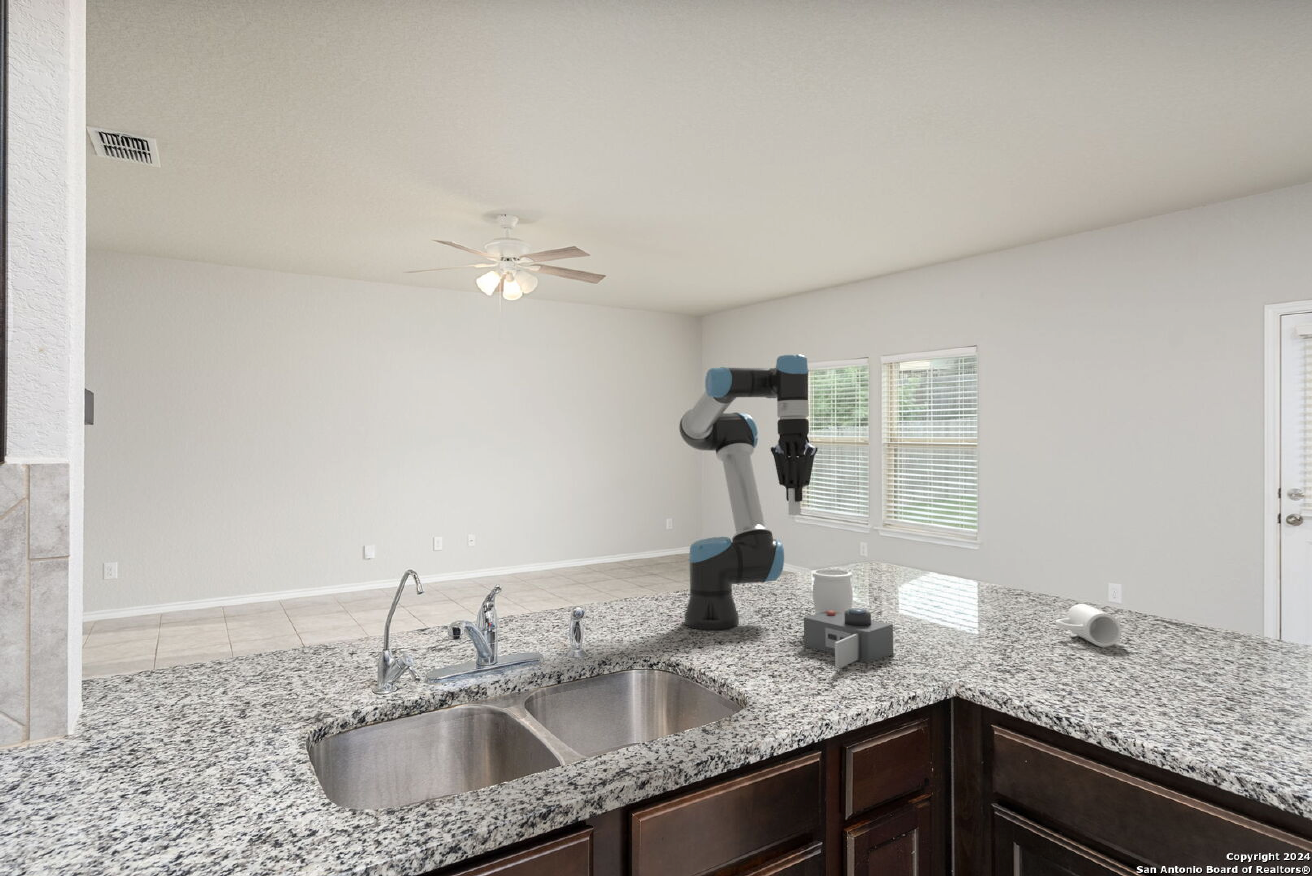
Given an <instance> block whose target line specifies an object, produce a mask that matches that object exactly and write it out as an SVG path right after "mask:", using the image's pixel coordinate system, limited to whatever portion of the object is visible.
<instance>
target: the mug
mask: <svg viewBox="0 0 1312 876" xmlns="http://www.w3.org/2000/svg"><path fill="white" fill-rule="evenodd" d="M1055 626H1056V627H1058V628H1060V629H1062V630H1067V631H1068V630H1069V631H1070V632H1071V633H1073V634H1074V635H1076V636H1078V637H1080V638H1081V639H1084V640H1086V641H1087V642H1089V643H1091V644H1093V645H1095V646H1097V647H1102V648H1109V647H1112V646H1113V645H1115V644H1117V643H1118V641H1119V640H1120V639H1121V637H1122V632H1123V631H1122V626H1121V623H1120V622H1119V620H1118V619H1117V618H1116V617H1115V616H1113V615H1112V614H1109V613H1107V612H1106V611H1102V610H1100V609H1099V608H1096V607H1093V606H1091V605H1089V604H1084V603H1080V604H1079V603H1078V604H1076V605H1073V606H1071V608H1069V609H1068V610H1067V611H1066V614H1065V617H1064V618H1059V619H1056V620H1055Z"/></svg>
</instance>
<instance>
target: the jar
mask: <svg viewBox="0 0 1312 876" xmlns="http://www.w3.org/2000/svg"><path fill="white" fill-rule="evenodd" d="M811 574H812V576H813V578H814V579H813V585H812V601H813V606H814V612H815V613H814V614H818V613H822V612H826V611H835V612H837V613H842V614H844V612H845V611H847V610H849V609H852V608H853V602H854V601H853V599H854V597H853V596H854V595H853V593H854V592H853V586H852V582H851V578H852V577H853V573H852V572H851V571H848V570H844V569H843V570H842V569H836V568H835V569H834V568H833V569H831V568H830V569H828V568H827V569H816V570H814V571H812V573H811Z"/></svg>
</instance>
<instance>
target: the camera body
mask: <svg viewBox="0 0 1312 876" xmlns="http://www.w3.org/2000/svg"><path fill="white" fill-rule="evenodd" d="M855 633H858V634H859V659H858V660H856V661H858V662H861V663H865V664H872V663H874V662H877V661H880V660H882V659H884V658H887V657H890V656H893V655H894V624H893V623H889V622H884V621H881V620H875V619H872V613H871V612H870V611H868V610H867V609H865V608H860V607H859V608H857V607H856V608H854V607H852V608H851V609H849V610H847V611H845V612H844V614H842V613H837V612H835V611H826V612H822V613H818V614H816V613H814V614H811V615H807V616H804V617H803V646H804V647H807V648H809V649H813V650H817V651H821V652H825V653H829V654H833V655H835V642H837V641H840V640H842V639H844V638H847V637H849V636H851V635H854V634H855Z"/></svg>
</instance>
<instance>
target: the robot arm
mask: <svg viewBox="0 0 1312 876" xmlns="http://www.w3.org/2000/svg"><path fill="white" fill-rule="evenodd" d="M808 365H809V364H808V358H807V357H806V355H803V354H784V355H780V356H778V357H777V358H776V365H775V367H725V366H723V367H722V366H721V367H711V368H710V369H708V370H707V372H706V375H705V381H704V384H705V385H704V387H705V391H704V392H703V394H702V395H701V397H700V398H699V399H698V401H697V402H696V404H694V405H693V407H692V408H691V409H689V410H687V411H685V413H684V414H683V415H682V417H681V419H680V422H679V427H678V428H679V433H680V436H681V438H682V440H683V441H684V442H685V443H686V444H687V445H688V446H690V447H691V448H693V449H695V450H699V451H708V452H709V451H715V455H716V458H717V459H718V460H719V461H720V462H722V466H723V469H724V475H725V481H726V486H727V492H728V497H729V501H730V507H731V513H732V518H733V524H734V528H735V534H734V535H733V536H732V538H730V537H727V536H715V537H714V536H713V537H708V538H703V539H700V540H696V541H694V542H692V544H691V545H690V547H689V555H688V556H689V557H688V563H689V593H690V594H689V600H688V603H687V606H686V611H685V612H684V616H683V617H684V624H685V626H687V627H690V628H692V629H696V630H697V629H698V630H706V631H715V630H716V631H717V630H719V631H720V630H726V629H727V630H728V629H732V628H735V627H737V626H738V625H739V623H740V614H739V612H738V611H737V608H736V604H735V600H734V598H733V585H739V584H740V585H741V584H753V583H754V584H755V583H756V584H757V583H762V584H765V583H767V582H775V581H777V580H778V579H779V578H780V577H781V575H782V573H783V570H784V565H785V550H784V549H785V548H784V545H783V543H782V542H781V540H779V539H778V538H776V539H775V538H774V536H773V532H772V531H771V530H770V529H768V528H767V527H766V525H765V524H766V523H765V520H764V515H763V511H762V505H761V500H760V495H759V490H758V486H757V483H756V482H757V481H756V478H755V472H754V467H753V463H752V458H751V457H752V454H754V451H755V448H756V447H757V445H758V441H759V438H758V429H757V425H756V422H755V420H754V418H753V417H752V416H751V415H749V414H747V413H741V412H728V413H727V412H725V411H726V410H727V408H729V407H730V405H731V404H732V403H733V401H735V400H736V398H766V399H776V400H777V401H776V403H777V404H776V405H777V411H776V412H777V418H779V419H778V421H777V434H778V435H779V436H778V437H779V439H778V441H777V444H776V445H775V446H771V447H770V452H771V453H772V455H773V460H774V465H775V469H776V474H777V479H778V483H779V485H780V486H784V487H785V489H786V491H785V492H786V493H785V494H786V495H785V496H786V497H785V498H786V501H787V502H788V516H800V515H801V502H802V501H803V490H804V489H803V488H804V487H807V486H810V484H811V483H810V482H811V476H812V472H813V466H814V460H815V456H816V454H817V452H818V449H819V448H818V446H813V444H811V443H810V440H809V437H808V435H809V434H810V421H809V419H808V417H809V416H810V414H809V413H810V410H809V409H810V408H809V407H810V406H809V367H808Z"/></svg>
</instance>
